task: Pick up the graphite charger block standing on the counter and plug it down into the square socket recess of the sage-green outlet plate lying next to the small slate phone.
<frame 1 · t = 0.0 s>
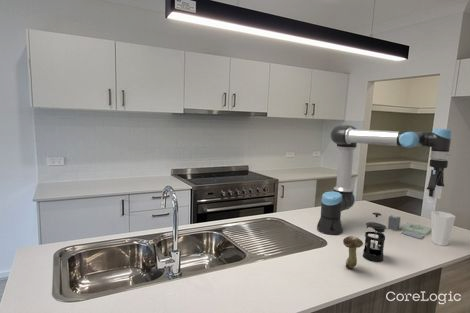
hand: (434, 200, 149), 28 cm above the worktop, fingers open, 13 cm apart
charger: (393, 229, 185), on the worktop
mushroom: (350, 268, 133), on the worktop
french press: (373, 258, 145), on the worktop
cup: (439, 243, 165), on the worktop
phone: (412, 236, 175), on the worktop
outlet plate: (416, 229, 184), on the worktop
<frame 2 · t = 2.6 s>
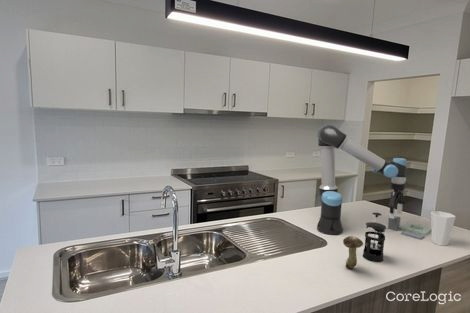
hand: (395, 215, 184), 9 cm above the worktop, fingers open, 13 cm apart
nothing on the worktop moved.
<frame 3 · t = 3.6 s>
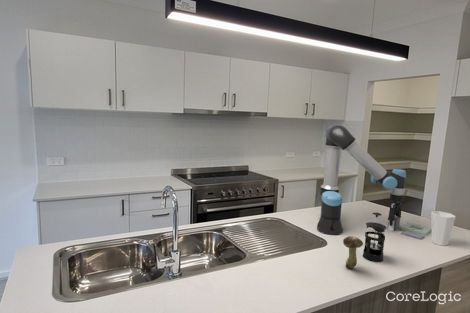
hand: (393, 228, 185), 0 cm above the worktop, fingers open, 8 cm apart
nothing on the worktop moved.
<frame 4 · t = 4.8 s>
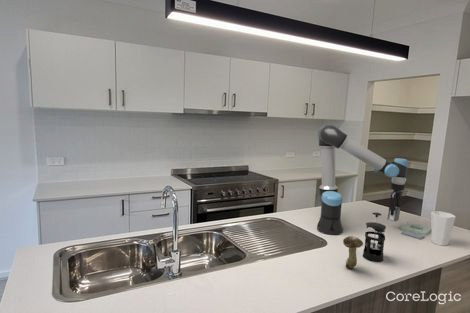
hand: (393, 218, 184), 7 cm above the worktop, fingers closed on charger, 5 cm apart
charger: (393, 219, 184), point 6 cm above the worktop, touching gripper
everything else where it was.
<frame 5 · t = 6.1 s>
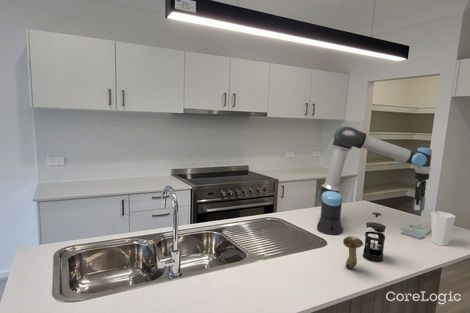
hand: (418, 208, 183), 14 cm above the worktop, fingers closed on charger, 5 cm apart
charger: (418, 209, 183), point 13 cm above the worktop, touching gripper
everything else where it was.
when the fingers open (2 cm above the worktop, at t = 7.7 s): charger drops 2 cm, resting in outlet plate.
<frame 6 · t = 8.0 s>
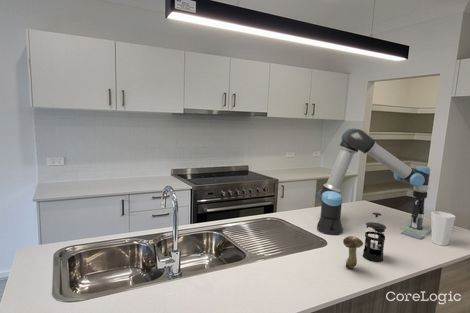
hand: (416, 225, 184), 3 cm above the worktop, fingers open, 9 cm apart
charger: (415, 229, 184), resting in outlet plate
everything else where it was.
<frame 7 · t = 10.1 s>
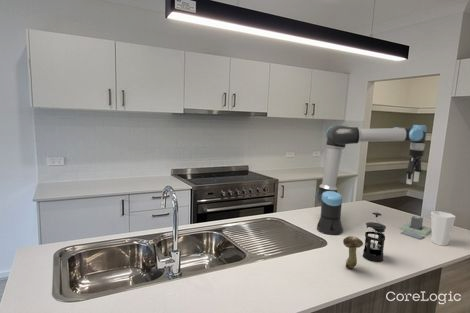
hand: (412, 182, 184), 30 cm above the worktop, fingers open, 13 cm apart
nothing on the worktop moved.
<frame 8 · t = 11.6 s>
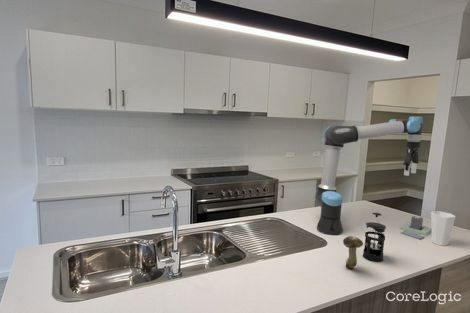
hand: (410, 174, 186), 35 cm above the worktop, fingers open, 13 cm apart
nothing on the worktop moved.
at the end: charger 0.1 cm off-centre on the outlet plate, point 0.0 cm above the outlet plate's base; charger tilted 0°; the gripper is holding nothing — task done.
